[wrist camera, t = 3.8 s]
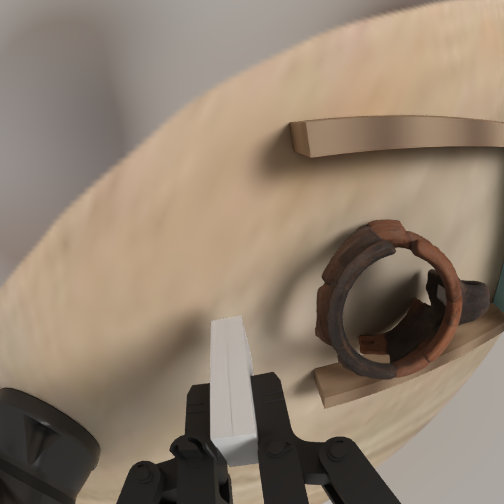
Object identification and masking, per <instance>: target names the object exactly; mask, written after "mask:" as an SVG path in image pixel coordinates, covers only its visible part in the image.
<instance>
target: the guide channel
mask: <svg viewBox="0 0 504 504" xmlns="http://www.w3.org/2000/svg"><path fill="white" fill-rule="evenodd" d="M290 130H291V136H292V142H293V149H294V151H295V152H298V153H300V154H303V155H305V156H308V157H310V158H312V157H320V156H327V155H336V154H344V153H353V152H363V151H374V150H386V149H400V148H417V147H443V146H495V147H504V122H496V121H489V120H480V119H470V118H458V117H443V116H415V115H387V116H358V117H341V118H328V119H317V120H307V121H299V122H290ZM503 331H504V313H503V312H502V311H501V310H500V309H499V308H498V307H497V306H496V305H495V304H494V303H491V304H490V306H489V308H488V310H487V312H486V313H485V314H484V315H483V316H481V317H479V318H478V319H476V320H475V321H472V322H469V323H465V324H462V325H459V326H458V327H457V330H456V332H455V334H454V337H453V339H452V340H451V342H450V343H449V345H448V346H447V348H446V349H445V350H444V351H443V352H442V354H441V355H440V356H439V357H438V358H437V359H436V360H435V361H433V362H430V363H429V365H428V366H427V367H425V368H423V369H422V370H420V371H418V372H416V373H413V374H411V375H408V376H404V377H400V378H393V379H390V380H380V379H373V378H368V377H365V376H359V375H357V374H355V373H354V372H351V371H349V370H347V369H345V368H343V367H342V364H341V363H340V362H339V363H336V364H332V365H328V366H325V367H321V368H317V369H314V370H315V382H316V385H317V388H318V391H319V394H320V397H321V400H322V403H323V406H324V409H325V408H329V407H332V406H336V405H339V404H343V403H346V402H349V401H353V400H356V399H359V398H362V397H365V396H368V395H371V394H374V393H377V392H379V391H382V390H385V389H388V388H390V387H393V386H395V385H398V384H401V383H403V382H405V381H408V380H410V379H413V378H415V377H417V376H420V375H422V374H424V373H427V372H429V371H431V370H433V369H435V368H437V367H440V366H442V365H444V364H446V363H448V362H450V361H452V360H454V359H456V358H458V357H460V356H462V355H464V354H465V353H467V352H469V351H471V350H473V349H475V348H476V347H478V346H480V345H482V344H483V343H485V342H487V341H489V340H490V339H492V338H494V337H495V336H497V335H498V334H500V333H502V332H503ZM363 357H365V358H367V359H369V360H371V361H374V362H379V363H390V356H389V355H376V354H366V355H363Z"/></svg>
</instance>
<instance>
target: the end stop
mask: <svg viewBox="0 0 504 504" xmlns="http://www.w3.org/2000/svg"><path fill="white" fill-rule="evenodd" d="M493 303H494V304H495V305H496V306H497V307H498V308H499V309H500V310H501V311H502V312H503V313H504V263H503V267H502V271H501V275H500V279H499V283H498V286H497V290H496V293H495V297H494V300H493Z"/></svg>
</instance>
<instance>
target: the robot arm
mask: <svg viewBox="0 0 504 504" xmlns="http://www.w3.org/2000/svg"><path fill="white" fill-rule="evenodd" d="M169 451H170V452H171V453H172V454H173V455H174V456H175V458H173V459H171V460H168V461H165V462H162V463H158V464H154V463H152V462H150V461H141V462H137V463H136V464H135V465H133V466H132V468H131V469H130V471H129V473H128V475H127V478H126V480H125V483H124V485H123V488H122V491H121V493H120V496H119V498H118V501H117V503H116V504H233V498H232V487H231V478H230V475H229V474H228V470H227V464H228V465H229V467H232V466H241V465H249V464H256V463H259V469H260V476H261V483H262V491H263V498H264V504H309V502H308V497H307V493H306V489H305V484H311V485H321V486H322V487H323V489H324V490H325V492H326V494H327V495H328V497H329V498H330V500H331V502H332V503H333V504H401V503H400V502H399V500H398V499H397V498H396V496H395V495H394V494H393V493H392V491H391V490H390V489H389V487H388V486H387V485H386V484H385V482H384V481H383V480H382V478H381V477H380V475H379V474H378V473H377V472H376V470H375V469H374V468H373V466H372V465H371V464H370V462H369V461H368V460H367V458H366V457H365V456H364V454H363V453H362V451H361V450H360V449H359V447H358V446H357V445H356V443H355V442H353V441H352V440H351V439H349V438H346V437H334V438H331V439H329V440H327V441H326V442H308V441H304V440H301V439H299V438H298V437H297V436H296V435H295V434H294V433H293V431H292V428H291V425H290V420H289V416H288V411H287V407H286V403H285V398H284V394H283V390H282V385H281V381H280V379H279V378H278V377H277V375H276V374H275V373H274V372H270V373H265V374H260V375H254V372H253V365H252V358H251V352H250V348H249V344H248V340H247V336H246V333H245V329H244V325H243V321H242V317H241V316H235V317H230V318H225V319H219V320H213V321H211V351H210V383H207V384H199V385H192V387H191V389H190V391H189V392H188V394H187V407H186V421H185V435H183V436H180V437H178V438H177V439H175V440H174V442H173V443H172V444H171V446H170V450H169ZM99 455H100V447H99V444H98V443H97V441H96V440H95V439H94V438H93V437H92V436H91V435H90V434H89V433H88V432H87V431H86V430H85V429H84V428H82V427H81V426H80V425H79V424H77V423H76V422H75V421H73V420H72V419H70V418H69V417H67V416H66V415H64V414H63V413H61V412H60V411H58V410H56V409H55V408H53V407H51V406H50V405H48V404H46V403H44V402H42V401H40V400H39V399H37V398H34V397H32V396H30V395H28V394H26V393H23V392H20V391H17V390H14V389H8V388H3V389H0V504H75V501H76V497H77V495H78V493H79V491H80V490H81V488H82V487H83V485H84V483H85V482H86V480H87V478H88V477H89V475H90V473H91V471H93V470H94V469H95V468H96V466H97V464H98V460H99Z"/></svg>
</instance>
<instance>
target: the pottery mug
mask: <svg viewBox="0 0 504 504" xmlns="http://www.w3.org/2000/svg"><path fill="white" fill-rule="evenodd" d="M397 247H401V248H406V249H410V250H411V251H412V253H413V254H414V255H415V256H417V257H420V258H421V259H423V260H425V261H427V262H428V263H429V264H431V265H432V266H433V267H434V269H435V270H433V269H431V270H429V271H428V280H427V284H426V290H427V292H428V295H429V299H430V302H431V306H430V305H427V304H426V303H422V302H421V301H420V300H419V299H417V298H413V300H412V303H411V306H410V308H409V310H408V312H407V314H406V315H405V317H404V318H403V319H402V320H401V321H400V322H399V323H398V324H397V325H396V326H395V327H394V328H393V329H392V330H390V331H388V332H386V333H383V334H379V335H373V336H360V337H359V339H358V340H359V345H360V352H361V353H362V354H376V355H389V356H390V363H379V362H374V361H371V360H369V359H367V358H365V357H363V356H361V355H360V354H359V353H357V352H356V351H355V350H354V349H353V347H352V346H351V345H350V344H349V342H348V340H347V338H346V335H345V332H344V328H343V319H342V315H343V308H344V304H345V300H346V297H347V295H348V292H349V290H350V289H351V287H352V285H353V284H354V282H355V280H356V279H357V278H358V277H359V275H360V274H361V273H362V272H363V271H364V270H365V269H366V268H367V267H369V266H370V265H371V264H373V263H374V262H376V261H378V260H379V259H381V258H384V257H386V256H389V255H392V254H394V253H396V249H395V248H397ZM322 279H323V280H324V282H325V283H324V285H323V286H321V287H320V288H319V289H318V292H317V321H316V328H315V335H316V336H317V337H319V338H320V339H321V340H322V341H323V342H325V343H326V344H328V345H330V346H332V347H333V348H334V349H335V350H336V351H337V354H338V356H337V357H338V361H339V362H340V363H341V364H342V367H343V368H345V369H347V370H349V371H351V372H354V373H355V374H357V375H359V376H365V377H368V378H373V379H380V380H390V379H393V378H400V377H404V376H408V375H411V374H413V373H416V372H418V371H420V370H422V369H423V368H425V367H427V366H428V365H429V363H430V362H433V361H435V360H436V359H437V358H438V357H439V356H440V355H441V354H442V352H443V351H444V350H445V349H446V348H447V346H448V345H449V343H450V342H451V340H452V339H453V337H454V334H455V332H456V330H457V327H458V326H459V325H462V324H465V323H469V322H472V321H475V320H476V319H478V318H479V317H481V316H483V315H484V314H485V313H486V312H487V310H488V308H489V306H490V299H489V298H490V292H489V290H488V287H487V285H486V284H484V283H481V282H478V281H464V280H460V279H459V278H458V276H457V274H456V271H455V269H454V267H453V265H452V263H451V262H450V260H449V259H448V258H447V257H446V256H445V255H444V253H442V252H441V251H440V250H439V249H438V248H437V247H436V246H433V245H432V244H431V243H430V242H429V241H428V240H426V239H425V238H423V237H422V236H420V235H418V234H416V233H413V232H410V231H406V230H405V229H404V227H403V226H402V224H401V223H400V221H398V220H375V221H372V222H370V223H368V226H363V227H361V228H359V229H358V230H357V231H356V232H355V233H354V234H353V235H352V236H350V238H349V239H348V240H347V241H346V242H345V243H344V244H343V245H342V246H341V247H340V248H339V249H338V251H337V252H336V253H335V255H334V256H333V257H332V259H331V260H330V262H329V264H328V265H327V267H326V269H325V270H324V272H323V274H322Z"/></svg>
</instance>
